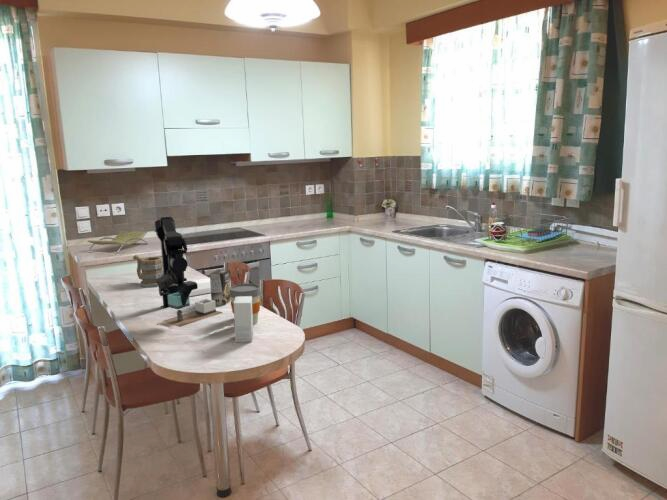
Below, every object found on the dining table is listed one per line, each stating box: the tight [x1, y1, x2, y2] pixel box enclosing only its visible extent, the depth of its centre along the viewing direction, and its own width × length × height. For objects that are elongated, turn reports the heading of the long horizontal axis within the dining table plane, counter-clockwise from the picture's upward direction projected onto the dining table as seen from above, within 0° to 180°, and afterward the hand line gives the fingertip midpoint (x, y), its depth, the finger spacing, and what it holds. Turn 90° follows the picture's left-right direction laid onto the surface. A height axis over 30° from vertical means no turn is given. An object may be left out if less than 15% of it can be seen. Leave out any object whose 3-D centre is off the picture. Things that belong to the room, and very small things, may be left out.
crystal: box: [189, 277, 211, 297], centre depth 263 cm, size 7×7×24 cm
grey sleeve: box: [194, 298, 217, 316], centre depth 226 cm, size 6×6×5 cm
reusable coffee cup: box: [230, 283, 262, 326], centre depth 216 cm, size 13×13×15 cm
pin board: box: [162, 302, 223, 327], centre depth 221 cm, size 12×22×6 cm, turn 142°
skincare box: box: [233, 296, 254, 344], centre depth 198 cm, size 8×7×16 cm
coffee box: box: [209, 268, 232, 307], centre depth 240 cm, size 9×6×16 cm
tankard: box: [132, 254, 163, 289], centre depth 282 cm, size 20×13×15 cm, turn 58°
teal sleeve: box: [168, 292, 191, 311], centre depth 215 cm, size 6×6×5 cm
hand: (179, 303), depth 215 cm, fingers closed on teal sleeve, 6 cm apart
